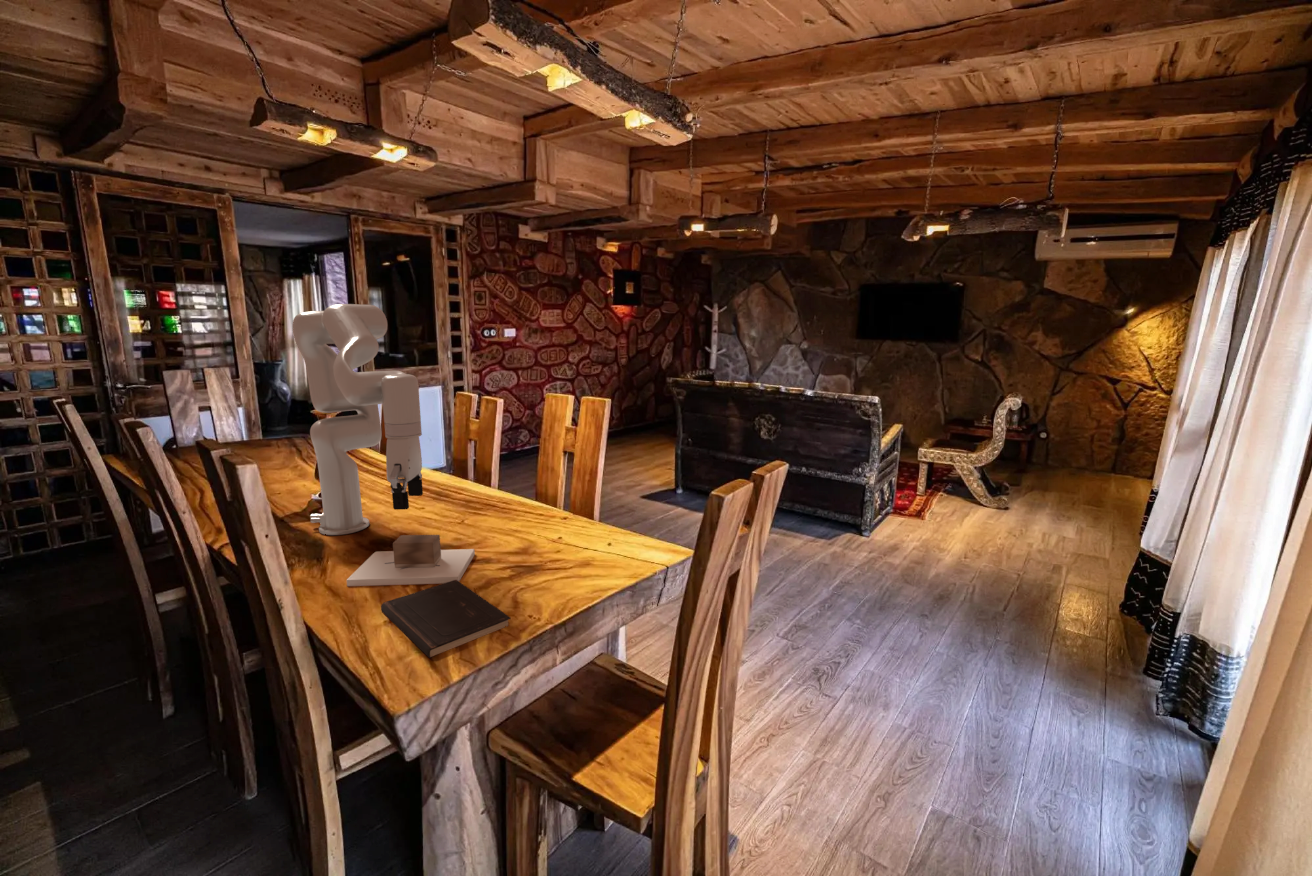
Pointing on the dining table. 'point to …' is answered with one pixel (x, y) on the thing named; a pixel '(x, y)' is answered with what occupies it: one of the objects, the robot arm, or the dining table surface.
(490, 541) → the dining table surface
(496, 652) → the dining table surface
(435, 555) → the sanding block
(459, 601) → the hardcover book
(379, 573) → the board
